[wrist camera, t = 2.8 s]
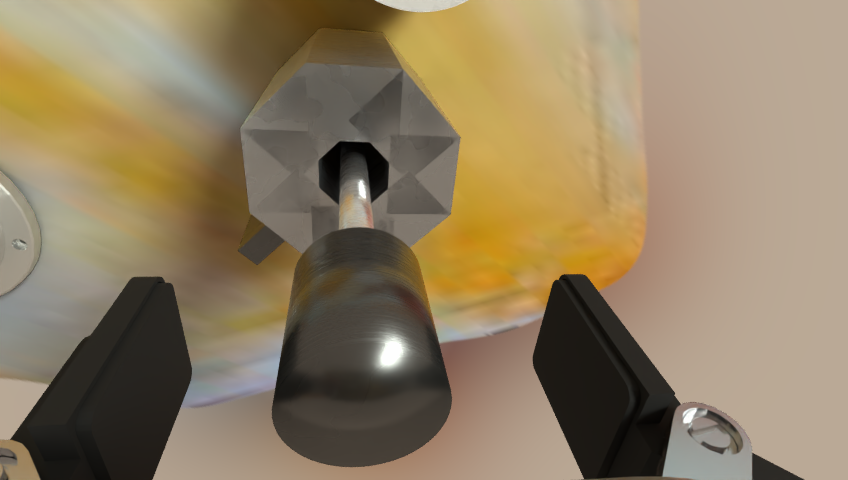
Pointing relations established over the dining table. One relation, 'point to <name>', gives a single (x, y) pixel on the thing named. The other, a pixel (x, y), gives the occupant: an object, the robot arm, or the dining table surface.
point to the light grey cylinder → (421, 4)
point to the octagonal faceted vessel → (345, 121)
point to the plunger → (359, 342)
